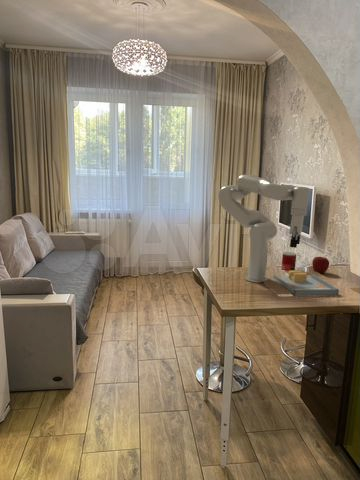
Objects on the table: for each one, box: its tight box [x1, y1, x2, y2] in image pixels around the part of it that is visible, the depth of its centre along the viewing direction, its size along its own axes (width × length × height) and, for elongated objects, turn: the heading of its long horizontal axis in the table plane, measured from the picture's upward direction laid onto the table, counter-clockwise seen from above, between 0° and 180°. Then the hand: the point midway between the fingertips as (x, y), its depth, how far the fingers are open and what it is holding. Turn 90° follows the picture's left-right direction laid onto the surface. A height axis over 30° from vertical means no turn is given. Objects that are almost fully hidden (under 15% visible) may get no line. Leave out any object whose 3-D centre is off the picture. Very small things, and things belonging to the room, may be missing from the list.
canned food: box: [281, 251, 297, 272], centre depth 221 cm, size 8×8×11 cm
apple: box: [311, 256, 330, 274], centre depth 219 cm, size 10×10×10 cm
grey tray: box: [272, 273, 340, 297], centre depth 192 cm, size 26×23×3 cm
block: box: [287, 269, 308, 282], centre depth 199 cm, size 7×7×4 cm
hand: (294, 245), depth 184 cm, fingers open, 9 cm apart
